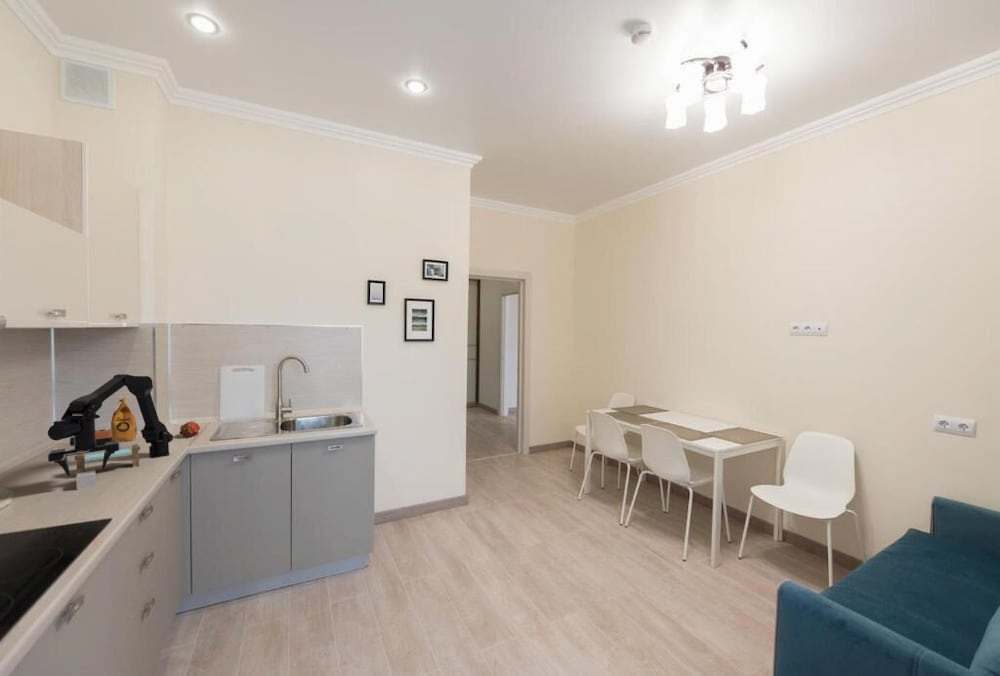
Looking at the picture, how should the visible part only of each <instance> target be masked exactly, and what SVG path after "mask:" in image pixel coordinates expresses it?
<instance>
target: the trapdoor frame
mask: <svg viewBox="0 0 1000 676" xmlns="http://www.w3.org/2000/svg"><path fill="white" fill-rule="evenodd" d="M140 450H141V446H139V444H138V443H137V444H131V455H132V456H131V459H132V464H133V465H132V468H135V467H134V466H137V467H140V464H139V462H140V459H139V457H140V456H139V451H140ZM74 460H75V463H76V474H77V473H82V472H86V469H85V467H86V465H85V453H83V454H76V455H74Z"/></svg>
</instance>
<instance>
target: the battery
mask: <svg viewBox="0 0 1000 676" xmlns="http://www.w3.org/2000/svg"><path fill="white" fill-rule="evenodd" d="M95 437H96V446H103V445H105V443H106V442H113V436H112V429H111V428H109V427H106V428H104V429H101V428H95ZM92 450H93V449H92Z"/></svg>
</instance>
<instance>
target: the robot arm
mask: <svg viewBox="0 0 1000 676" xmlns="http://www.w3.org/2000/svg"><path fill="white" fill-rule="evenodd" d="M124 386H125V387H126V388H127V389H128V390H127V391H128V392H129V393H131V395H133V396H135V398H136V400H137V404H138V407H139V410H140V413H141V417H142V421H144V422H143V423H144V426H143V428H142V429H141V430H140V433H141V435H142V436H141V437H142V439H144V440H145V443H146V444H150V445H149V446H148V450H149V451H148V453H149V457H150V458H151V459H153V458H154V457H155V458H160V457H165V456H170V445H169V443H171V442H172V441H173V440H174V435H173V434H172V433H171V432H169V430H168V428H167V426H166V425H165V423H163V422H161V420H160V418H159V417H158V413H157V411H156V407H155V404H154V400H153V396H152V395H151V392H152V391H153V388H154V385H153V379H152V378H151V376H148V375H131V374H127V373H121V374H120V373H119V374H115V375H114V376H113V377H112V378H110V379H109V380H108V381H107V382H105V383H104V384H102V385H101V386H100V387H98V388H97V389H96V390H95V389H94V391H93V392H91V393H89V394H86V395H82V396H79V397H78V398H75V399H74V400H73V399H72V401H71V402H70V403H69V404H68V407H67V409H66V410H65V412H64V414H63V415H61V418H60V420H53V425H50V427H49V428H48V430H47V435H48V437H49V439H50V440H53V441H56V442H57V441H61V440H65V439H68V438H69V446H70V447H73V448H74V449H70V450H66V448H59V449H52V450H50V451H49V453H48V454H47V455H48V456H47V460H48V462H53V464H56V463H57V464H58V465H59V466H60V467H61V468H62V469H63V471H64V473H65V475H67V477H70V476H71V473H70V472H71V471H70V467H69V462H68V457H69V456H76V455H77V454H83V453H84V454H86V453H89V452H96V451H102V450H105V451H104V458H103V459H102V466H101V468H102V471H104V470H105V467H106V466H107V463H108V461H109V460H110V458H109V457H110V455H111V454H114V453H115V451H119V447H120V442H118V441H114V440H112V442H106V443H105V445H103V446H96V437H95V429H96V419H99V418H101V415H100V414H97V412H98V411H99V410H100V409H101V408H102V407H103V403H104V402H105V401H107V399H108V398H110V397H112V396H113V395H114V394H115V393H116V392H118V391H119V390H121V389H122V388H124ZM92 449H93V450H92Z"/></svg>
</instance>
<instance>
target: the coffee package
mask: <svg viewBox="0 0 1000 676" xmlns="http://www.w3.org/2000/svg"><path fill="white" fill-rule="evenodd" d="M123 397H124V398H123V399H121V400H120V399H118V403H119V402H122V403H121V404H120V406H119V408H118V409H117V410H116V411H115V412H114V414H113V413H112V415H113V416H111V422H110V429H112V440H113V441H124V442H129V441H128V440H130V441H134V440H133V439H136V437H137V436H138V428H137V427H138V426H137V420H136V416H135V417H134V415H135V414H134V415H133V414H132V412H131V410H130V409H129V407H128V406H127V404H126V403H125V399H126V400H127V398H126V397H125V396H123ZM136 435H137V436H136Z"/></svg>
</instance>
